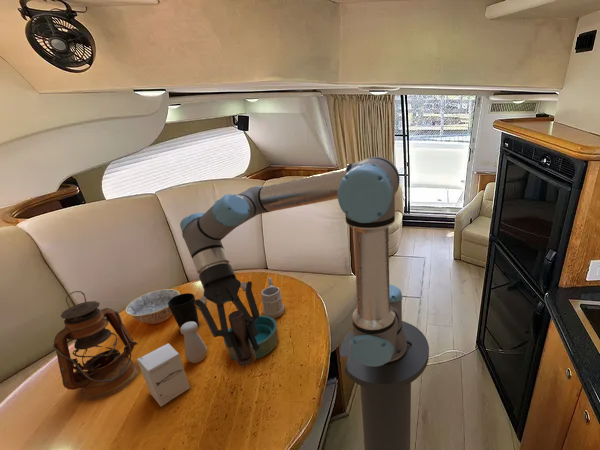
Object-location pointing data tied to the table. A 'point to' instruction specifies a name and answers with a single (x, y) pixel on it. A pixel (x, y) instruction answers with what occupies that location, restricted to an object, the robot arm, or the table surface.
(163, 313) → the bowl
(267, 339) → the teal bowl
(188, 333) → the salt shaker
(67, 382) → the lantern
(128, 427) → the table surface
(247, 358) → the walnut stirrer
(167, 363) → the white packaging box
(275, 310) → the mug
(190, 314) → the cup
